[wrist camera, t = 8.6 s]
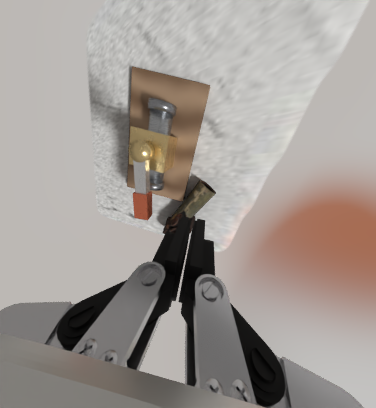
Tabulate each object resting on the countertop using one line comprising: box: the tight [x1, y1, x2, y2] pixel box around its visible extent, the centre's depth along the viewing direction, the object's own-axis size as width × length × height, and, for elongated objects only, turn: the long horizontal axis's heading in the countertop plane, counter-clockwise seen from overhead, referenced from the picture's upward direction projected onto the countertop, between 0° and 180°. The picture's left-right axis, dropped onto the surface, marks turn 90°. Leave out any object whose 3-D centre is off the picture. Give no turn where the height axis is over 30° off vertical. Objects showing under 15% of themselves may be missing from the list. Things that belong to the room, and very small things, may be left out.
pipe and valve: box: [129, 98, 178, 191], centre depth 28 cm, size 16×7×7 cm, turn 167°
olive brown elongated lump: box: [163, 180, 216, 234], centre depth 35 cm, size 18×7×6 cm, turn 142°
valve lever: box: [128, 140, 156, 220], centre depth 24 cm, size 14×3×3 cm, turn 174°
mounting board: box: [127, 67, 210, 202], centre depth 31 cm, size 24×15×2 cm, turn 167°
